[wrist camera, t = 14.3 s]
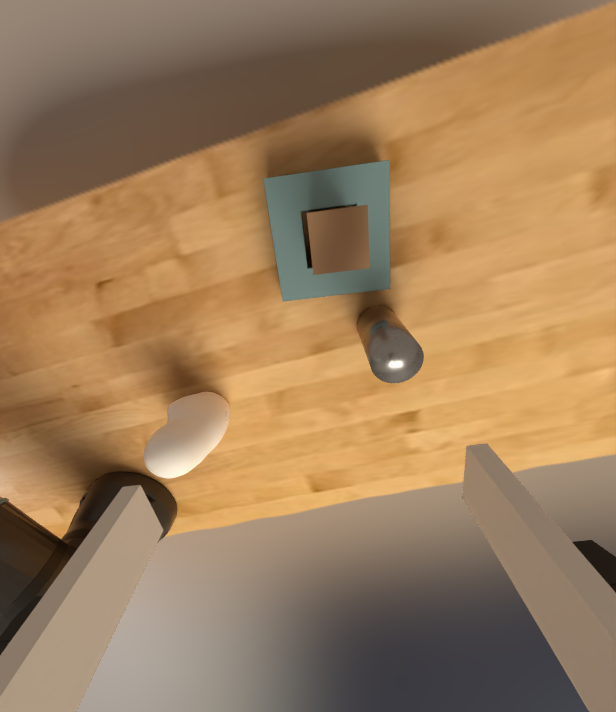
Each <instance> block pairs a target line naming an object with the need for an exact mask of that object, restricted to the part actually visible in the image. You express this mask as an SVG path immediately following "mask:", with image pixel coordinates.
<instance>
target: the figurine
mask: <svg viewBox="0 0 616 712" xmlns="http://www.w3.org/2000/svg"><path fill="white" fill-rule="evenodd" d="M167 414H168V421H167V424H166V425H164V426H163V427H161V428H160V429H159V430H158V431H156V432H155V433H154V434H153V435H152V437H151V438H150V440H149V441H148V443H147V445H146V448H145V451H144V461H145V465H146V467H147V468H148V469H149V471H150V472H152V473H153V474H154V475H156V476H159V477H162V478H175V477H178V476H181V475H184V474H186V473H187V472H189V471H190V470H192V469H193V468H194V467H196V466H197V465H198V464H199V463H200V462H201V461H202V460H203V459H204V458H205V457H206V456H207V455H208V454H209V453H210V452H211V451H212V450H213V449H214V448H215V447H216V445H217V444H218V443H219V442H220V440H221V438H222V437H223V435H224V433H225V431H226V428H227V425H228V422H229V417H230V408H229V405H228V403H227V401H226V400H225V399H224V398H223V397H222V396H220V395H218V394H216V393H213V392H200V393H198V394H193V395H188V396H185V397H182V398H180V399H178V400H176V401H174V402H172V403H171V404H170V405H169V406H168V408H167Z"/></svg>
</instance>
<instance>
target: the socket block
mask: <svg viewBox="0 0 616 712" xmlns="http://www.w3.org/2000/svg"><path fill="white" fill-rule="evenodd" d="M263 180H264V187H265V193H266V199H267V205H268V212H269V218H270V224H271V231H272V237H273V243H274V249H275V256H276V262H277V268H278V275H279V281H280V287H281V293H282V300H283V301H291V300H299V299H308V298H316V297H325V296H333V295H342V294H350V293H359V292H367V291H376V290H384V289H390V177H389V160H386V161H380V162H373V163H366V164H359V165H352V166H346V167H339V168H332V169H325V170H318V171H312V172H305V173H298V174H291V175H284V176H278V177H271V178H264V179H263ZM362 205H368V229H369V259H370V268H368V269H359V270H351V271H343V272H335V273H327V274H319V275H313V267H312V265H308V262H307V253H306V245H305V236H304V228H303V219H302V212H310V211H317V210H324V209H331V208H339V207H346V206H353V207H354V206H362Z"/></svg>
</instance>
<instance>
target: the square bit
mask: <svg viewBox="0 0 616 712" xmlns="http://www.w3.org/2000/svg"><path fill="white" fill-rule="evenodd" d="M307 222H308V231H309V240H310V249H311V258H312V267H313V275H319V274H327V273H335V272H343V271H351V270H359V269H368V268H370V259H369V229H368V205H362V206H354V207H347V208H340V209H332V210H325V211H318V212H311V213H307Z"/></svg>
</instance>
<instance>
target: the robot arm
mask: <svg viewBox="0 0 616 712" xmlns="http://www.w3.org/2000/svg"><path fill="white" fill-rule="evenodd" d="M462 498H463V499H464V501H465V503H466V505H467V506H468V508H469V510H470V511H471V513H472V514H473V516H474V518H475V520H476V521H477V523H478V525H479V526H480V528H481V530H482V532H483V533H484V535H485V536H486V538H487V540H488V542H489V543H490V545H491V547H492V548H493V550H494V552H495V553H496V555H497V557H498V559H499V560H500V562H501V564H502V565H503V567H504V569H505V570H506V572H507V574H508V575H509V577H510V579H511V580H512V582H513V584H514V585H515V587H516V589H517V591H518V592H519V594H520V596H521V597H522V599H523V601H524V602H525V604H526V606H527V607H528V609H529V611H530V612H531V614H532V616H533V618H534V619H535V621H536V623H537V624H538V626H539V628H540V629H541V631H542V633H543V634H544V636H545V638H546V640H547V641H548V643H549V644H550V646H551V648H552V650H553V651H554V653H555V655H556V656H557V658H558V660H559V661H560V663H561V665H562V666H563V668H564V670H565V672H566V673H567V675H568V677H569V678H570V680H571V682H572V683H573V685H574V687H575V688H576V690H577V692H578V693H579V695H580V697H581V698H582V700H583V702H584V704H585V705H586V707H587V709H588V710H589V712H616V557H615V556H614V555H612V554H611V553H609V552H608V551H606V550H605V549H604V548H602V547H600V546H599V545H598V544H597V543H595V542H594V541H592V540H587V541H577V542H571V540H570V539H569V538H568V537H567V536H566V535H565V533H564V532H563V531H562V530H561V529H560V528H559V527H558V525H557V524H556V523H555V522H554V521H553V520H552V518H551V517H550V516H549V515H548V514H547V513H546V512H545V510H544V509H543V508H542V507H541V506H540V504H539V503H538V502H537V501H536V500H535V499H534V498H533V496H532V495H531V494H530V493H529V492H528V491H527V489H526V488H525V487H524V486H523V485H522V484H521V482H520V481H519V480H518V479H517V478H516V477H515V476H514V474H513V473H512V472H511V471H510V470H509V469H508V467H507V466H506V465H505V464H504V463H503V462H502V460H501V459H500V458H499V457H498V456H497V455H496V453H495V452H494V451H493V450H492V449H491V448H490V447H489V445H488V444H479V445H470V446H467V447H466V459H465V470H464V482H463V494H462ZM8 501H9V500H8V499H7V498H2V497H0V712H76V710H77V709H78V707H79V705H80V702H81V700H82V698H83V696H84V694H85V692H86V690H87V688H88V686H89V684H90V682H91V680H92V677H93V675H94V673H95V671H96V669H97V667H98V665H99V663H100V661H101V659H102V657H103V655H104V653H105V651H106V649H107V646H108V644H109V642H110V640H111V638H112V636H113V634H114V632H115V630H116V628H117V626H118V623H119V621H120V619H121V617H122V615H123V613H124V611H125V609H126V607H127V605H128V603H129V601H130V599H131V597H132V594H133V592H134V590H135V588H136V586H137V584H138V582H139V580H140V578H141V576H142V574H143V572H144V570H145V567H146V566H147V563H148V561H149V559H150V557H151V555H152V553H153V551H154V549H155V547H156V545H157V543H158V542H159V541H160V540H161V539H162V538H163V537H164V536H165V535H166V534H167V533H168V532H169V530H170V529H171V527H172V524H173V522H174V520H175V518H176V515H177V505H176V502H175V500H174V498H173V496H172V495H171V494H170V492H169V491H168V490H167V489H166V488H165V487H163V486H162V485H161V484H159V483H158V482H156V481H154V480H152V479H150V478H148V477H146V476H143V475H139V474H135V473H130V472H114V473H109V474H106V475H103V476H101V477H99V478H98V479H97V480H95V481H94V483H93V484H92V485H91V486H90V487H89V488H88V489H87V491H86V492H85V493H84V495H83V496H82V499H81V501H80V505H79V508H78V510H77V511H76V513H75V515H74V517H73V520H72V522H71V524H70V526H69V529H68V531H67V533H66V534H65V535H64V536H63V538H62V539H60V538H58V537H57V536H56V535H54V534H53V533H51V532H50V531H49V530H47V529H46V528H44V527H43V526H41V525H40V524H38V523H37V522H36V521H34V520H33V519H31V518H30V517H29V516H27V515H26V514H25V513H23V512H22V511H21V510H19V509H18V508H16V507H15V506H14V505H12V504H11V503H10V502H8Z"/></svg>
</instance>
